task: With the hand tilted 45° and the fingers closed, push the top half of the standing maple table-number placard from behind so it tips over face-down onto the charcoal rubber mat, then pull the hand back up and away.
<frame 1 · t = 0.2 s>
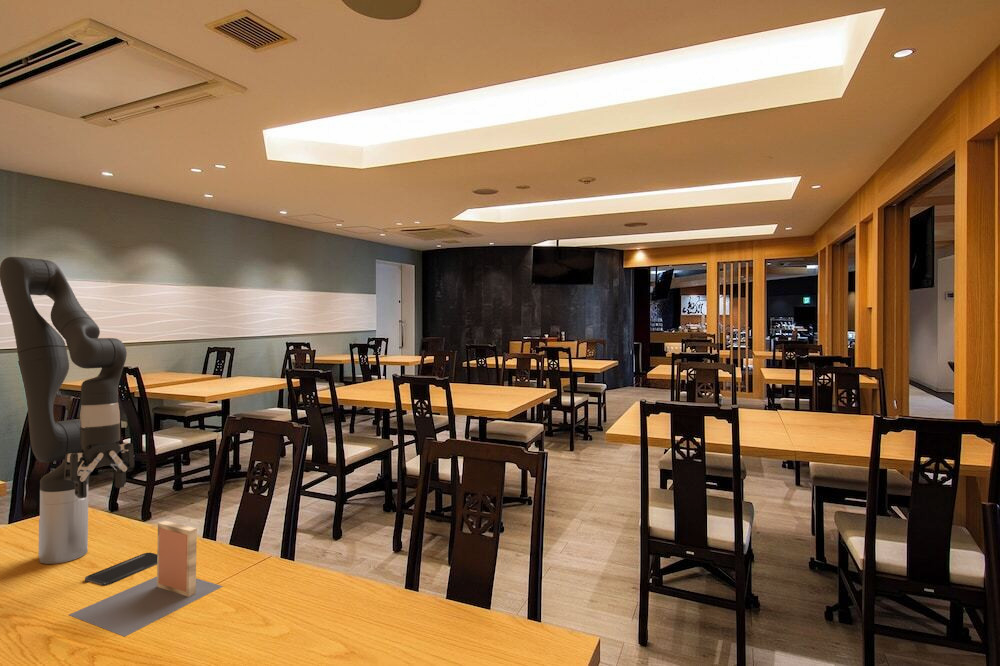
hand: (101, 492, 126), 18 cm above the table, tool pointing down, fingers open, 8 cm apart
phone: (128, 572, 125), on the table
mat: (150, 601, 112), on the table
placard: (176, 590, 116), resting on mat
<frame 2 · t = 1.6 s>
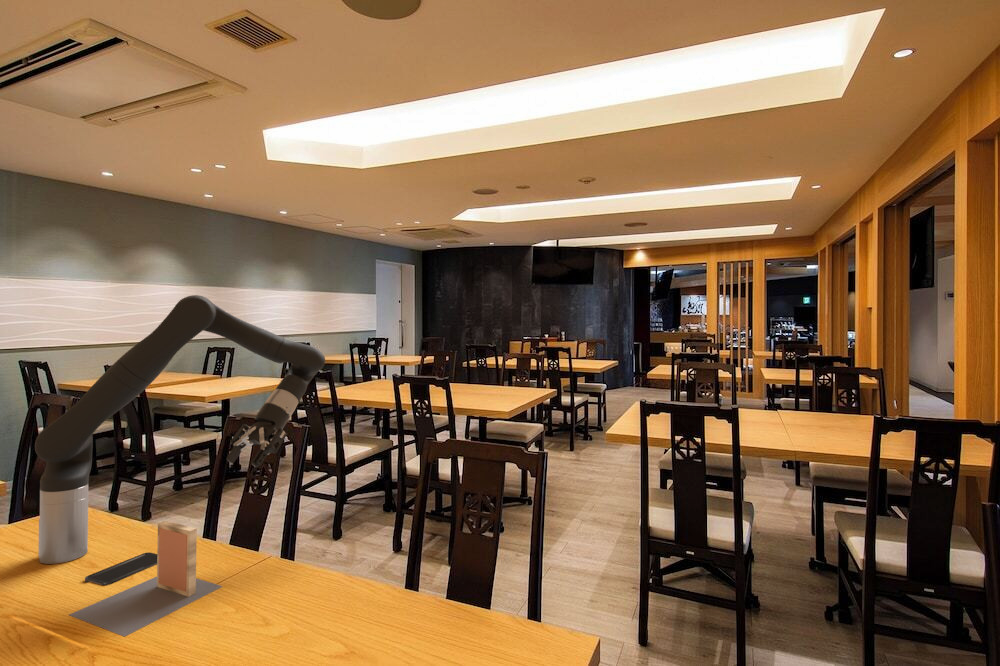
hand: (241, 463, 133), 23 cm above the table, tool tilted 45°, fingers open, 8 cm apart
nothing on the table moved.
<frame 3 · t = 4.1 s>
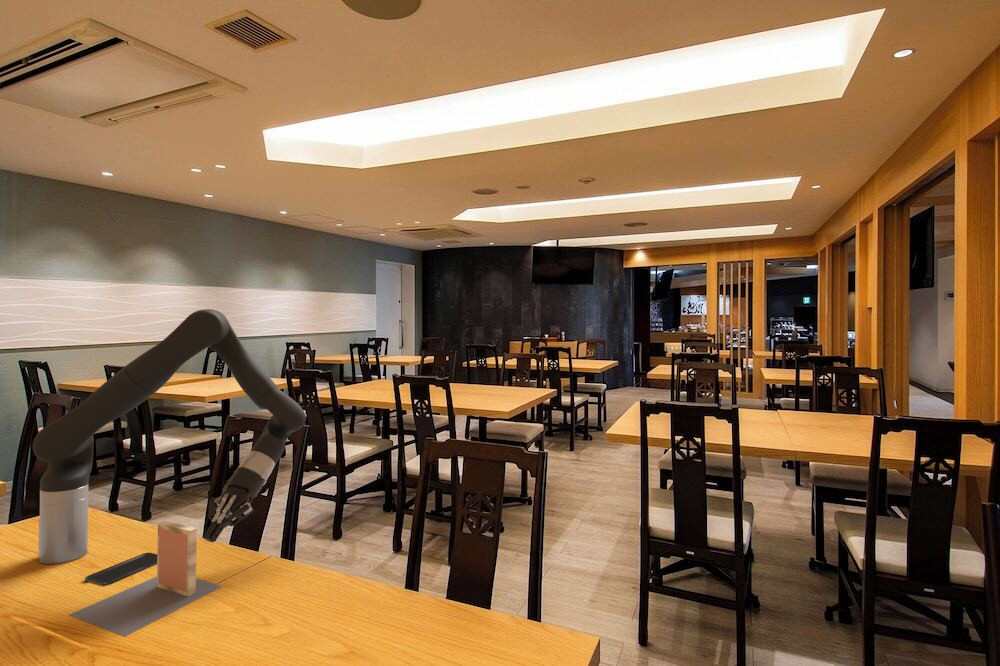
hand: (208, 540, 123), 8 cm above the table, tool tilted 45°, fingers closed
nothing on the table moved.
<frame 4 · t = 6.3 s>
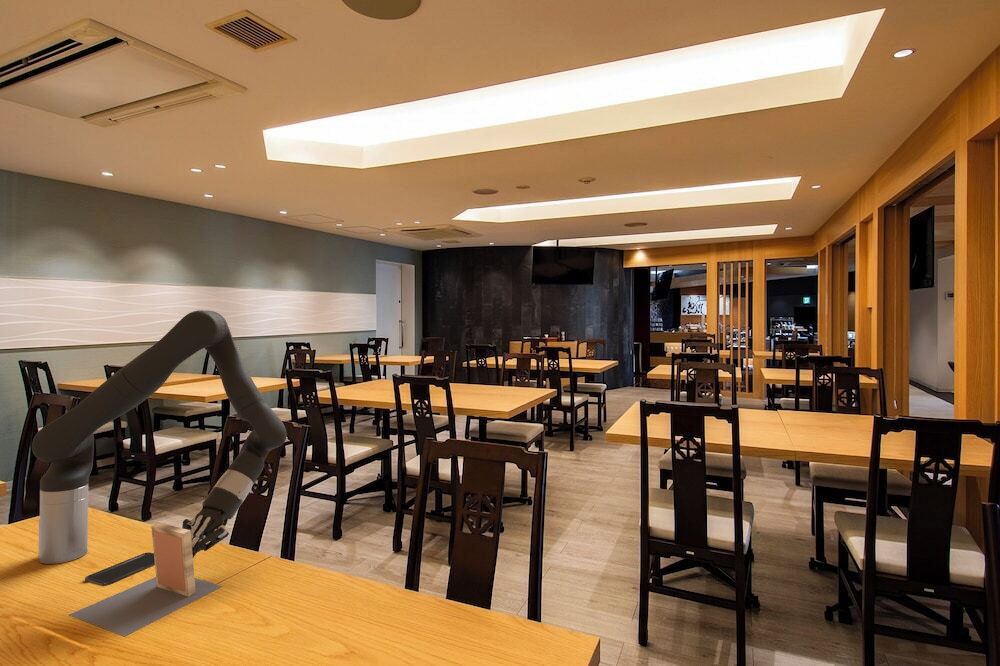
hand: (179, 565, 117), 5 cm above the table, tool tilted 45°, fingers closed
placard: (176, 589, 116), resting on mat, tilted 6°
everything else where it was.
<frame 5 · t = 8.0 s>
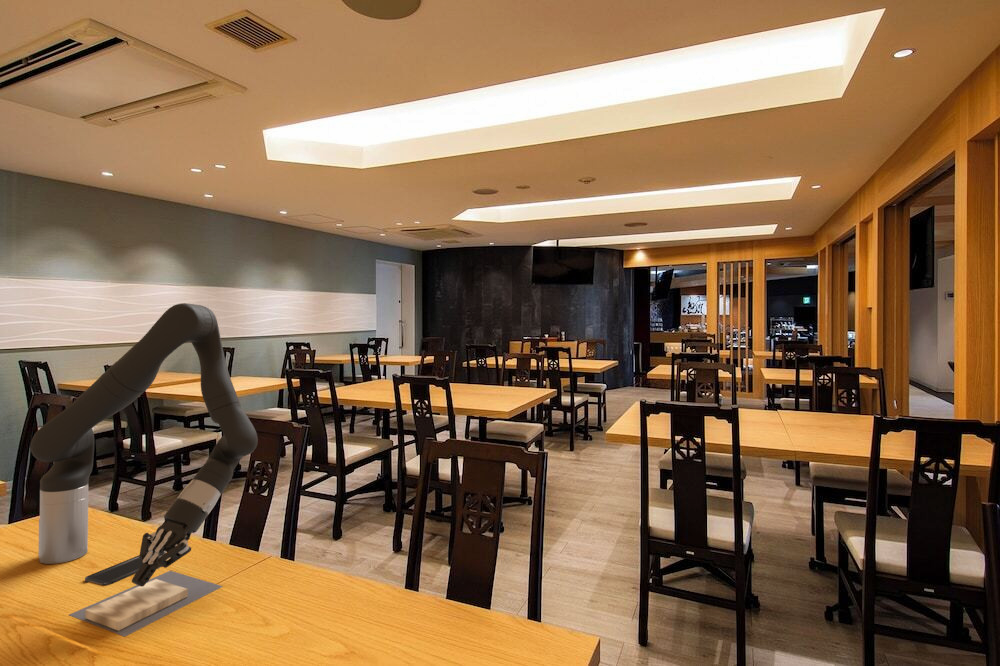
hand: (136, 584, 108), 5 cm above the table, tool tilted 45°, fingers closed
placard: (171, 587, 115), point 1 cm above the table, tilted 90°, touching mat
everything else where it was.
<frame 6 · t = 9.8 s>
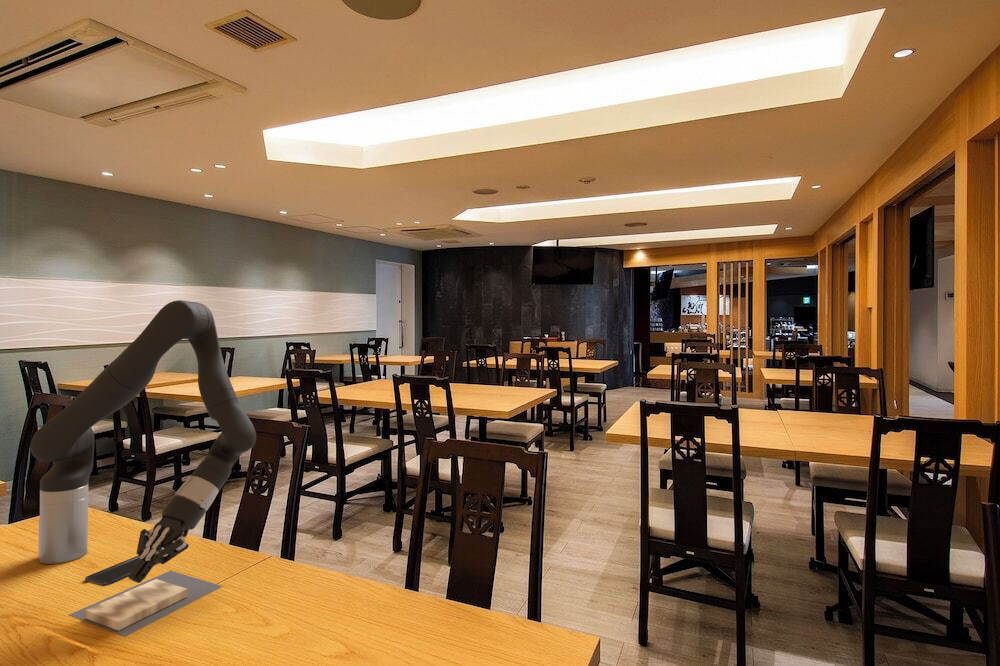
hand: (133, 580, 108), 6 cm above the table, tool tilted 45°, fingers closed
nothing on the table moved.
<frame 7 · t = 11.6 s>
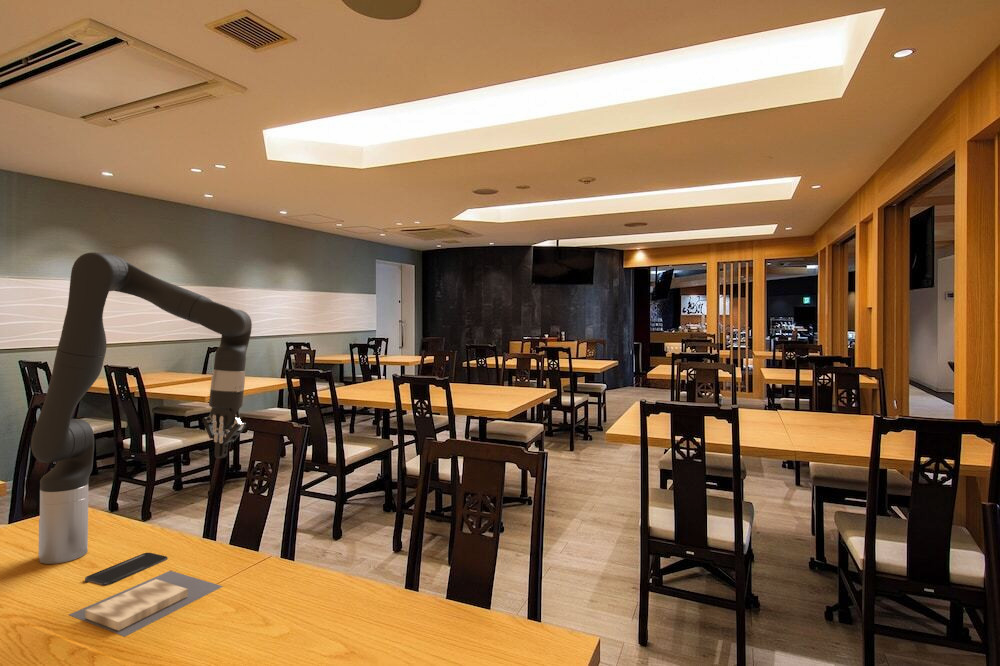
hand: (220, 457, 134), 25 cm above the table, tool pointing down, fingers closed
nothing on the table moved.
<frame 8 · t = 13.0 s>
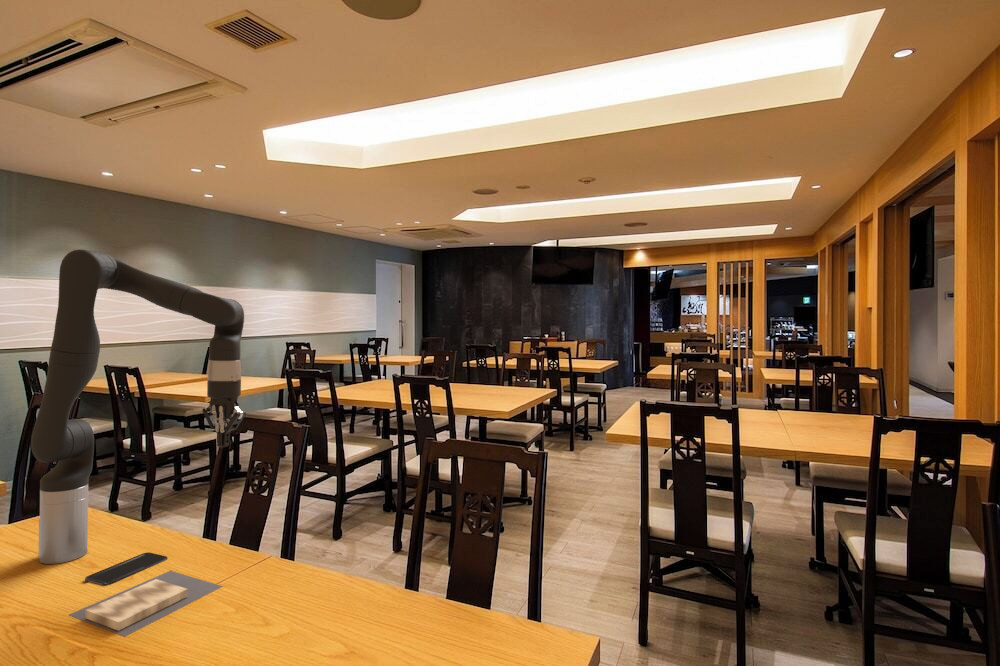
hand: (223, 446, 135), 27 cm above the table, tool pointing down, fingers closed
nothing on the table moved.
at the end: placard tilted 90°; placard inside the target area (0.4 cm from its centre), point 1.4 cm above the table; the gripper is holding nothing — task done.
